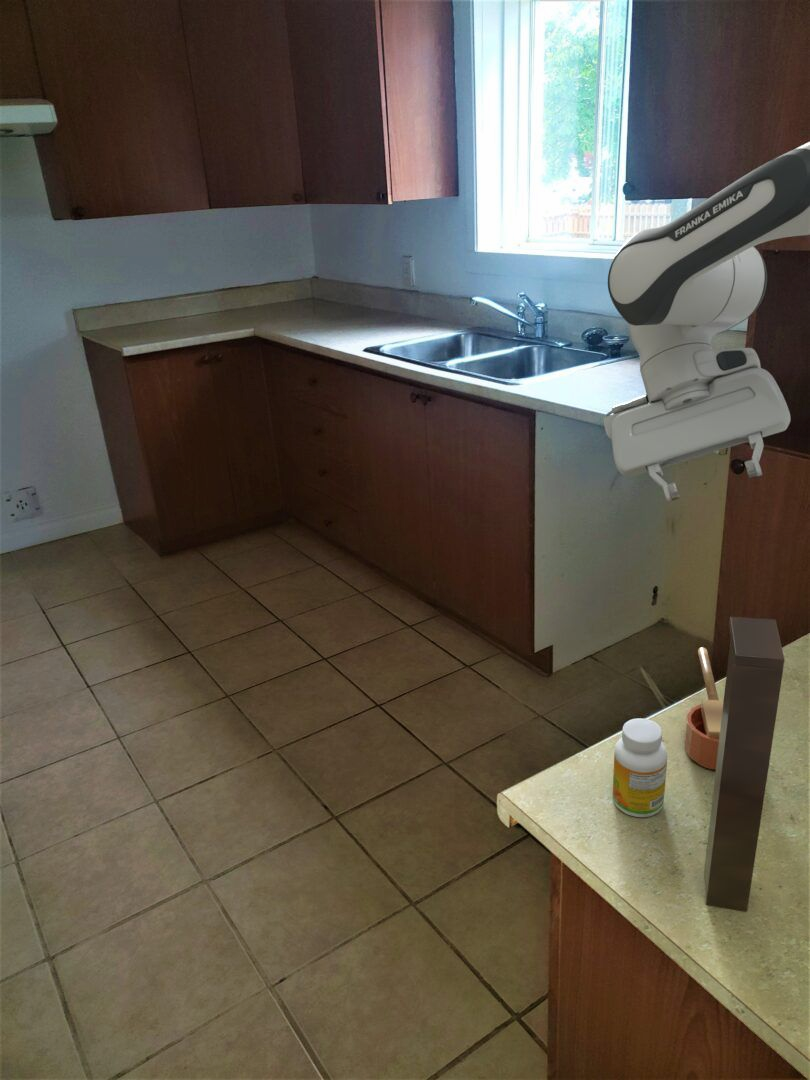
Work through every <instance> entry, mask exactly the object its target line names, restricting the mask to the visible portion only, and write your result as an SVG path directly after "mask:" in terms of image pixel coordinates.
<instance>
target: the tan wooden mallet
mask: <svg viewBox="0 0 810 1080" xmlns="http://www.w3.org/2000/svg"><path fill="white" fill-rule="evenodd" d="M697 655H698V659H699V663H700V667H701V673H702V677H703V681H704V686H705V691H706V694H707V699H706V700H705V699H702V700H701V704H702V705H701V713H702V717H703V722H704V727H705V732H706V735H707V736H710V737H713V738H717V739H719V737H720V728H721V719H722V710H723V702H724V700H720V699H719V695H718V691H717V685H716V683H715V678H714V674H713V670H712V666H711V661H710V658H709V657H710V656H709V652H708V649H707V648H706V647H704V646H702V647H699V648H698V649H697Z"/></svg>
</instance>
